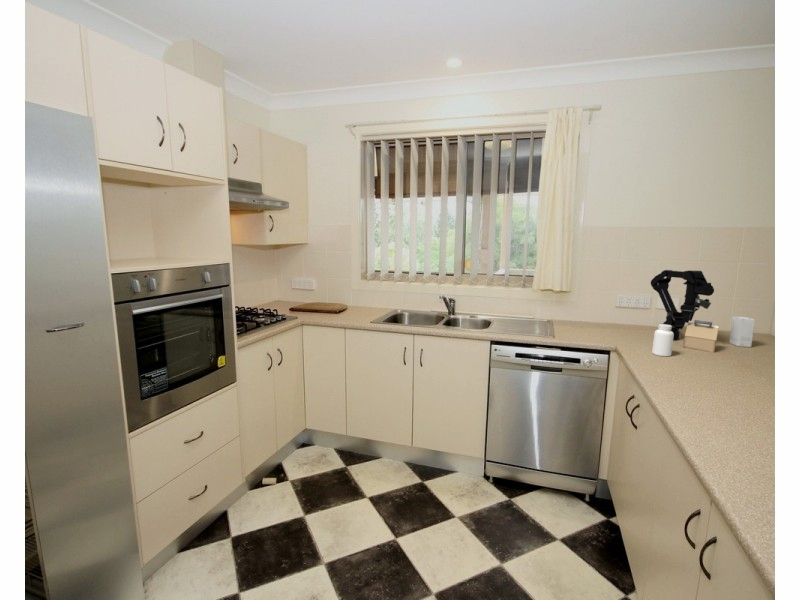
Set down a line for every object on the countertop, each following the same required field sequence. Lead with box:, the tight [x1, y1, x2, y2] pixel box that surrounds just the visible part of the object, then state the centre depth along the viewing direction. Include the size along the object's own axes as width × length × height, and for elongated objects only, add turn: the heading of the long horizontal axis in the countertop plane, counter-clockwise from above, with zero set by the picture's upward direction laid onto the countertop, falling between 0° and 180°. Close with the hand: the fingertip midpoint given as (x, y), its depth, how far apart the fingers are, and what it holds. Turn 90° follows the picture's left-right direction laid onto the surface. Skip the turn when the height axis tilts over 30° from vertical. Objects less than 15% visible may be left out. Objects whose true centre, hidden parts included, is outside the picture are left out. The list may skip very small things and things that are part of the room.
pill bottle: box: [651, 323, 674, 357], centre depth 192 cm, size 8×8×15 cm
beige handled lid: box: [684, 319, 719, 342], centre depth 204 cm, size 13×11×4 cm
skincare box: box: [728, 315, 756, 348], centre depth 213 cm, size 8×7×16 cm
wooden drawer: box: [682, 335, 718, 353], centre depth 207 cm, size 13×11×6 cm
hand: (688, 321), depth 213 cm, fingers open, 9 cm apart
